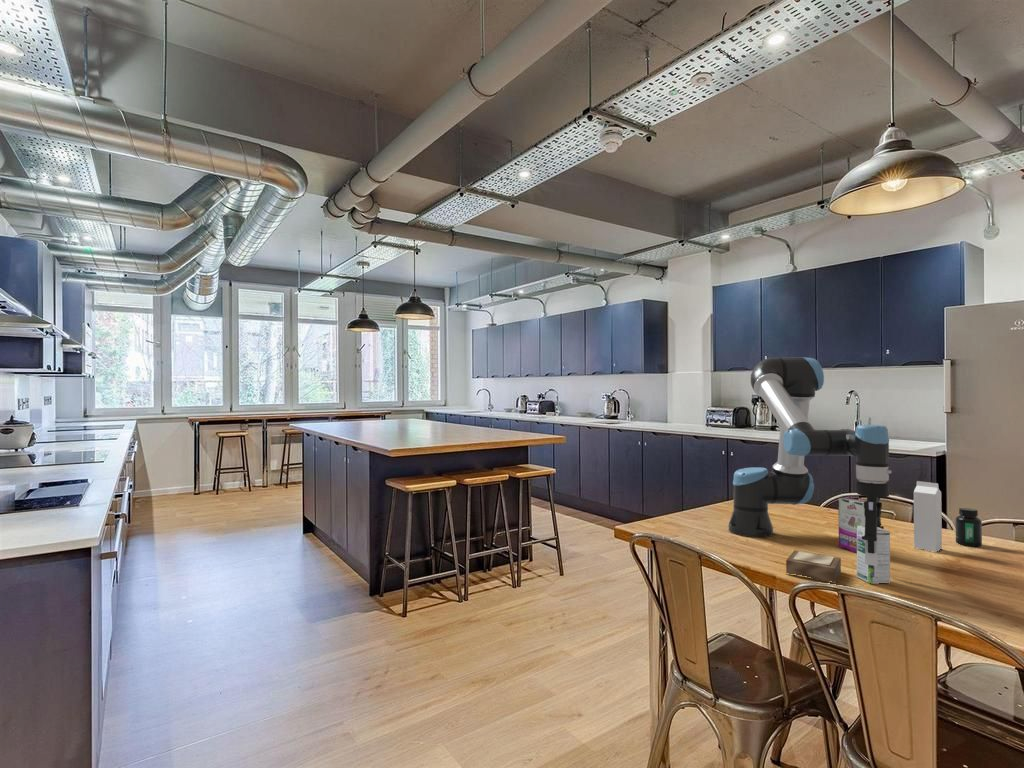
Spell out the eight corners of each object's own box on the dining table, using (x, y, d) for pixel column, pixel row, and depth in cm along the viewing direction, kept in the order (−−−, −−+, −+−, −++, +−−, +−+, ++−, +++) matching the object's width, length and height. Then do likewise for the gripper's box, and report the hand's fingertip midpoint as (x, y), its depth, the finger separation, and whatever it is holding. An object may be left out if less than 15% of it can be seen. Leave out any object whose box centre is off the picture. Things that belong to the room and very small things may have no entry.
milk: (936, 553, 175) (935, 484, 175) (913, 548, 180) (913, 481, 180) (942, 549, 178) (941, 482, 179) (920, 545, 183) (919, 480, 183)
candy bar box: (880, 555, 172) (879, 503, 172) (867, 556, 170) (866, 504, 171) (849, 546, 182) (849, 497, 183) (837, 547, 181) (837, 497, 181)
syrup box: (855, 577, 151) (855, 525, 152) (875, 576, 152) (875, 524, 152) (870, 584, 146) (870, 530, 146) (891, 584, 146) (891, 530, 146)
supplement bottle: (974, 548, 180) (973, 512, 180) (951, 543, 186) (950, 508, 186) (986, 546, 182) (986, 510, 182) (963, 541, 189) (962, 506, 189)
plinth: (786, 574, 154) (786, 559, 154) (794, 563, 163) (794, 549, 163) (835, 583, 147) (835, 567, 147) (840, 571, 156) (840, 556, 156)
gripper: (886, 488, 137) (887, 573, 137) (891, 477, 157) (892, 550, 156) (851, 485, 142) (852, 567, 141) (860, 474, 161) (861, 546, 161)
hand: (873, 558), depth 149 cm, fingers open, 13 cm apart
